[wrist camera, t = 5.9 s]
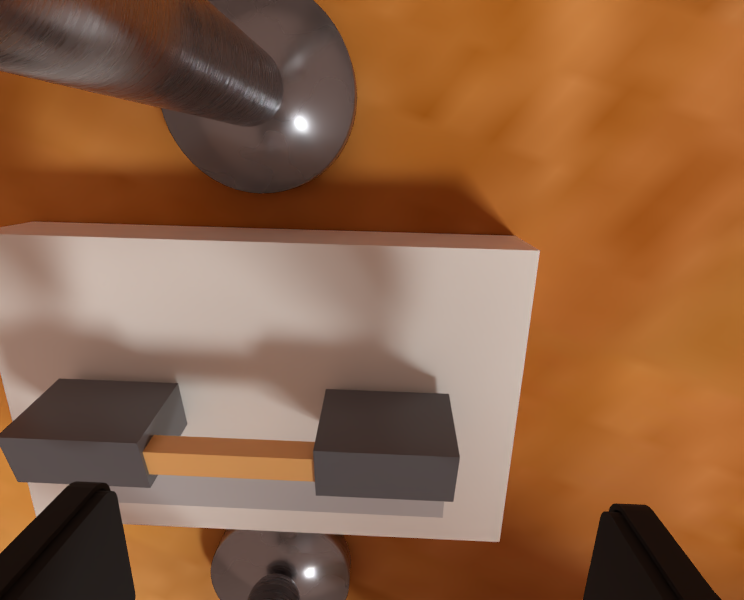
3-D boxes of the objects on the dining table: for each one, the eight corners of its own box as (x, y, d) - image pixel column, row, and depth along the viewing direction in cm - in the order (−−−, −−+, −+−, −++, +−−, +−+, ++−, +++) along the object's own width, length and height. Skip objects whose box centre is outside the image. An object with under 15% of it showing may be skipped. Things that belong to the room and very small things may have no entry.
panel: (33, 221, 15) (-38, 233, 12) (514, 235, 14) (540, 251, 12) (83, 471, 18) (34, 521, 15) (484, 489, 17) (500, 544, 15)
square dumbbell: (58, 378, 13) (-4, 437, 11) (448, 393, 13) (459, 457, 11) (74, 419, 14) (17, 481, 12) (443, 434, 14) (453, 501, 12)
